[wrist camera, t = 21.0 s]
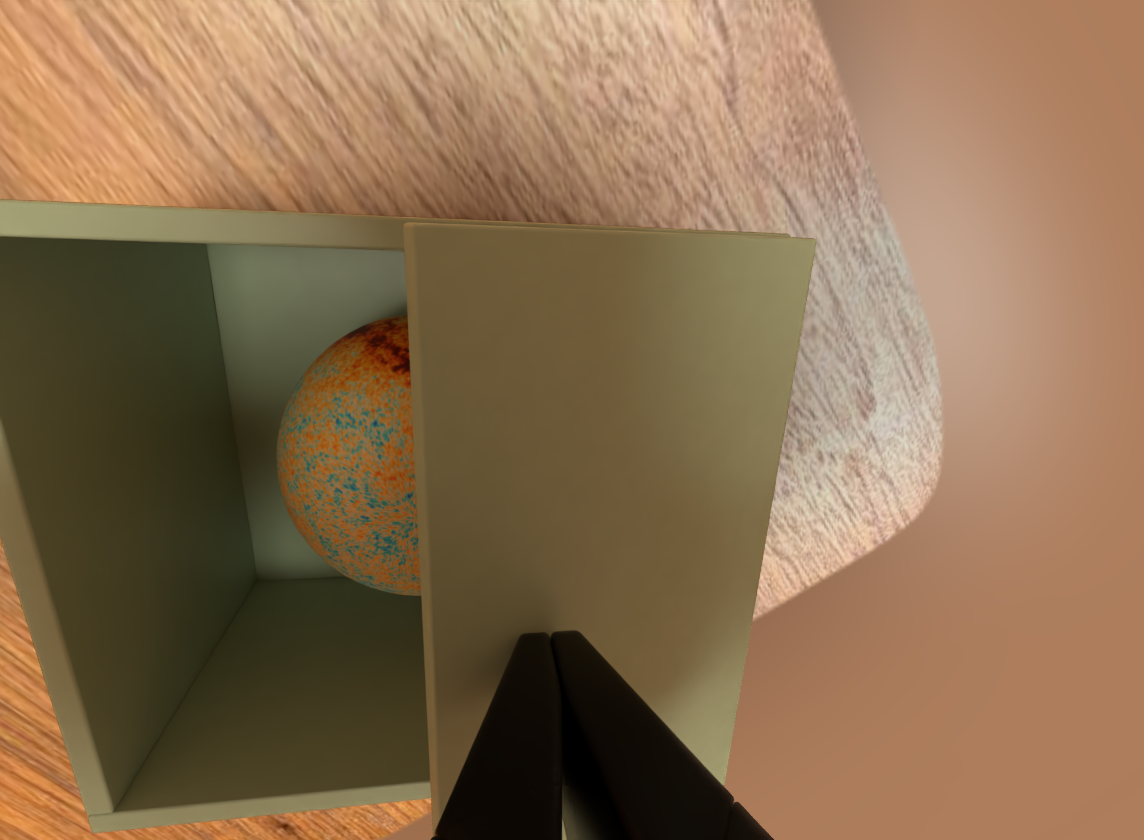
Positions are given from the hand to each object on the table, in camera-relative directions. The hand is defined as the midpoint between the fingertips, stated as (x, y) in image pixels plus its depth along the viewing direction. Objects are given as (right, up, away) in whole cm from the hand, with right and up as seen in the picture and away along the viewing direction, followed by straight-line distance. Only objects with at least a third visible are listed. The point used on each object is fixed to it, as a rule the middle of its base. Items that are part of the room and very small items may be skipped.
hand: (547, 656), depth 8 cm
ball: (-4, +4, +10) cm, 11 cm away
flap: (+1, 0, +1) cm, 2 cm away
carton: (-4, +4, +10) cm, 11 cm away
